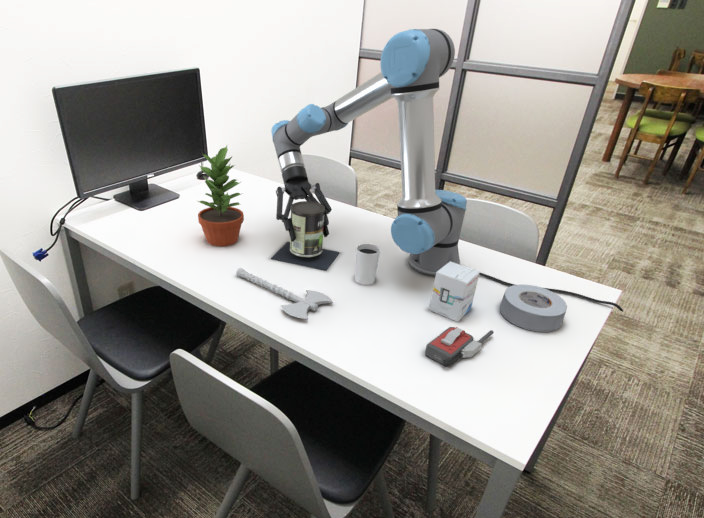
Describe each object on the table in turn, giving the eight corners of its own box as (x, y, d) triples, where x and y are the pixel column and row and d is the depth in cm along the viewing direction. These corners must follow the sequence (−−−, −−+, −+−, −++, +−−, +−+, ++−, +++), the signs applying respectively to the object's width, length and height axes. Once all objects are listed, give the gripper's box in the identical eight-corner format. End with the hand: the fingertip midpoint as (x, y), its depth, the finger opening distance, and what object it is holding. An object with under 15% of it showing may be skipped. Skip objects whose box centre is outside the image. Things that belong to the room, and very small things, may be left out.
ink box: (442, 297, 137) (450, 260, 131) (471, 309, 132) (481, 270, 126) (427, 310, 131) (435, 271, 125) (457, 322, 127) (467, 283, 120)
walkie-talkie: (453, 374, 109) (495, 337, 121) (457, 359, 107) (499, 323, 119) (419, 356, 114) (462, 322, 127) (422, 341, 112) (466, 308, 124)
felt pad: (339, 253, 158) (339, 252, 158) (326, 270, 148) (326, 269, 147) (287, 242, 163) (287, 241, 163) (271, 259, 153) (271, 257, 153)
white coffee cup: (379, 278, 145) (384, 247, 140) (370, 288, 140) (374, 256, 135) (359, 272, 148) (362, 241, 142) (349, 281, 143) (352, 250, 137)
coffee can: (325, 244, 158) (327, 202, 150) (319, 259, 149) (322, 215, 142) (293, 241, 159) (294, 199, 152) (286, 255, 151) (286, 211, 143)
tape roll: (570, 316, 131) (577, 300, 128) (546, 339, 122) (552, 322, 119) (515, 293, 140) (520, 278, 137) (488, 313, 131) (493, 297, 128)
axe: (221, 284, 139) (220, 276, 138) (255, 267, 148) (255, 259, 147) (303, 325, 123) (303, 317, 122) (336, 303, 132) (337, 296, 131)
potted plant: (191, 246, 158) (182, 152, 142) (210, 228, 171) (204, 139, 155) (235, 253, 155) (231, 157, 140) (251, 234, 168) (249, 144, 152)
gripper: (322, 173, 160) (340, 237, 156) (255, 179, 153) (271, 247, 149) (330, 161, 153) (348, 228, 149) (260, 167, 146) (277, 238, 142)
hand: (310, 237), depth 149 cm, fingers closed on coffee can, 10 cm apart
